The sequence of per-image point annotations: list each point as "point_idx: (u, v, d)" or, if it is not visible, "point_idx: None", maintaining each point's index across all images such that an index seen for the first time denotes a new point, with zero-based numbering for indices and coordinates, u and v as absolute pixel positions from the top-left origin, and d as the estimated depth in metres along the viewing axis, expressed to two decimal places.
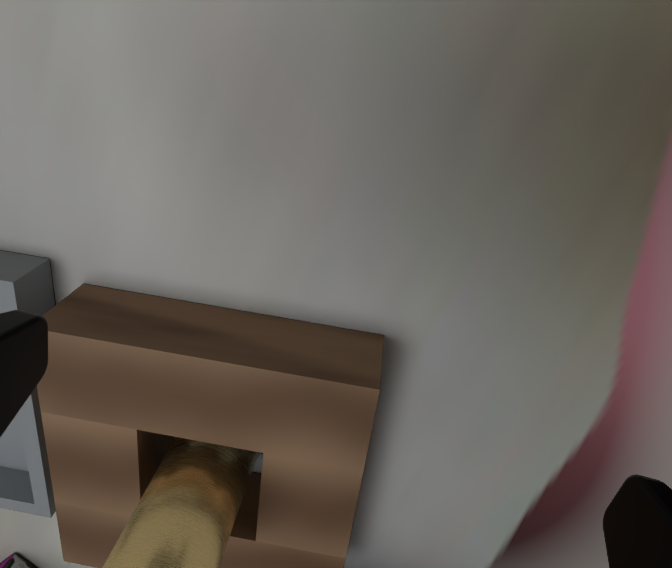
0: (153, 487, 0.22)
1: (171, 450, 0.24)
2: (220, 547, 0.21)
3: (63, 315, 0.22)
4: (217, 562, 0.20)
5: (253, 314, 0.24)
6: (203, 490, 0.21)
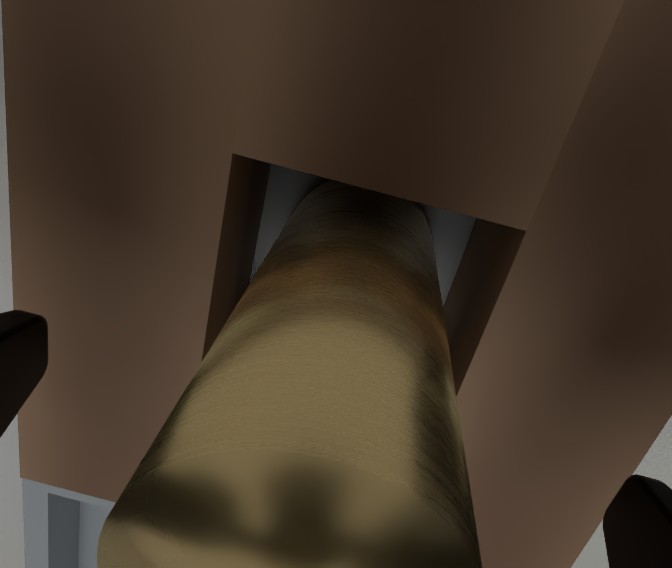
0: None
1: None
2: (317, 297, 0.07)
3: None
4: (331, 316, 0.07)
5: None
6: None
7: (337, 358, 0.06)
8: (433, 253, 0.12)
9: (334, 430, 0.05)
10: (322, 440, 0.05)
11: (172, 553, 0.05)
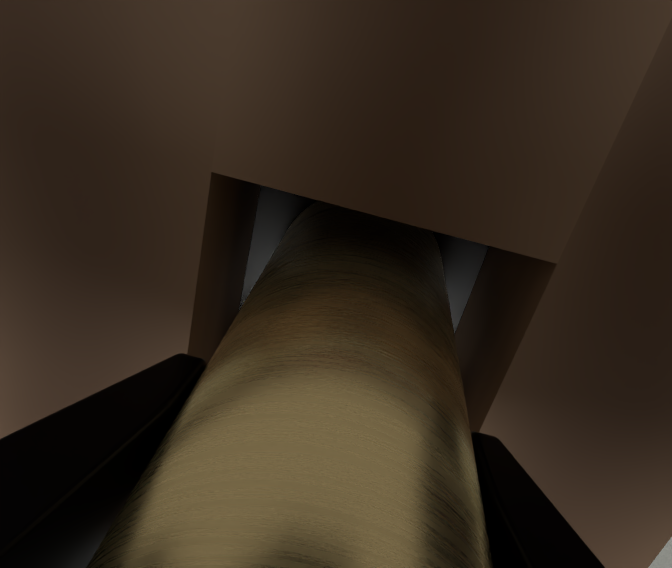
0: None
1: None
2: (306, 360, 0.06)
3: None
4: (323, 388, 0.05)
5: None
6: (216, 350, 0.08)
7: (328, 459, 0.05)
8: (444, 281, 0.11)
9: None
10: None
11: None
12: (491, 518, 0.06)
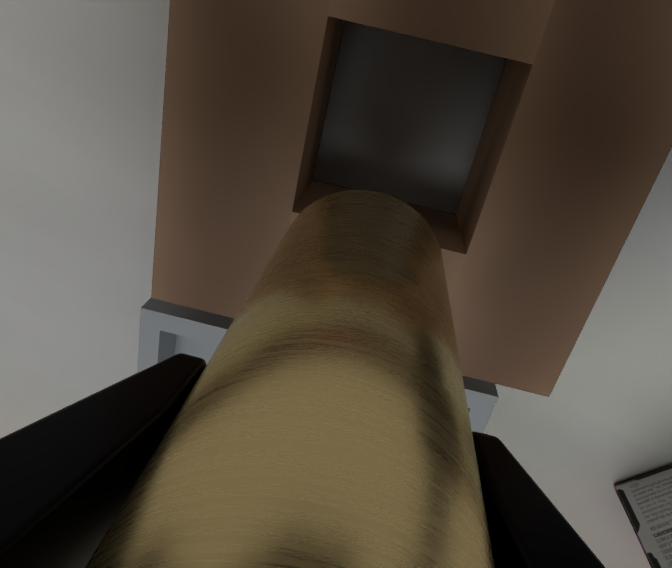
0: None
1: None
2: (307, 358, 0.06)
3: None
4: (323, 386, 0.05)
5: None
6: (216, 348, 0.08)
7: (330, 455, 0.05)
8: (445, 280, 0.11)
9: None
10: None
11: None
12: (491, 518, 0.06)
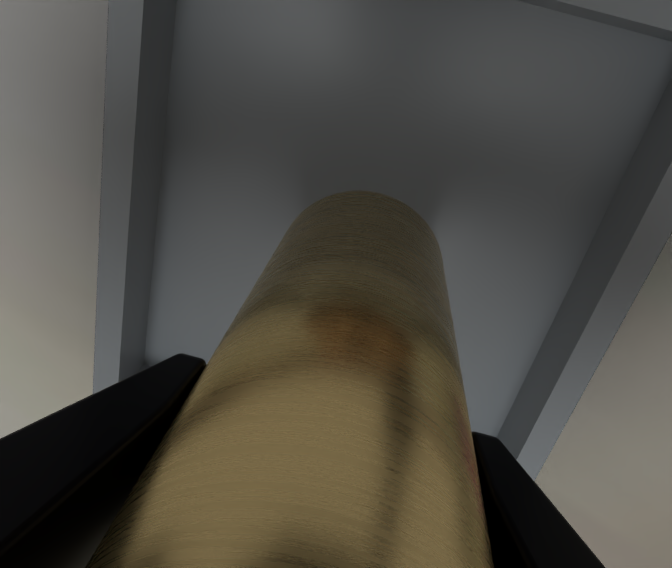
0: None
1: None
2: (306, 360, 0.06)
3: None
4: (323, 389, 0.05)
5: None
6: (215, 350, 0.07)
7: (328, 459, 0.04)
8: (445, 281, 0.11)
9: None
10: None
11: None
12: (491, 518, 0.06)
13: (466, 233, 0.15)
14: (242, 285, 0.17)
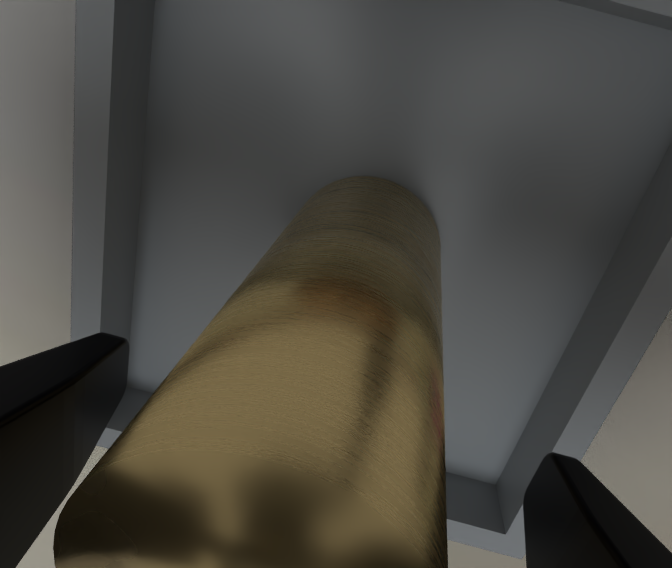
0: None
1: None
2: (298, 296, 0.07)
3: None
4: (309, 315, 0.07)
5: None
6: (228, 299, 0.09)
7: (307, 358, 0.06)
8: (437, 256, 0.12)
9: (289, 432, 0.05)
10: (275, 442, 0.05)
11: (126, 552, 0.05)
12: (589, 544, 0.06)
13: (474, 249, 0.14)
14: None
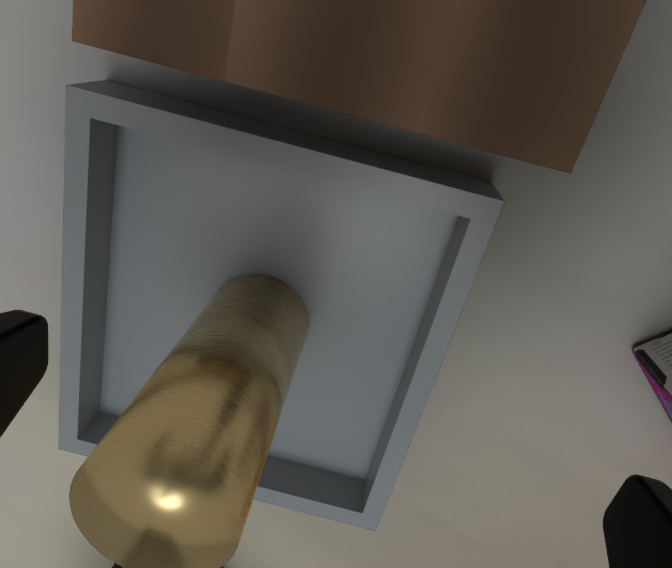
0: None
1: None
2: (188, 371, 0.14)
3: None
4: (191, 382, 0.14)
5: None
6: None
7: (184, 405, 0.13)
8: (296, 328, 0.19)
9: (170, 437, 0.12)
10: (162, 442, 0.11)
11: (102, 494, 0.12)
12: None
13: (330, 320, 0.21)
14: None
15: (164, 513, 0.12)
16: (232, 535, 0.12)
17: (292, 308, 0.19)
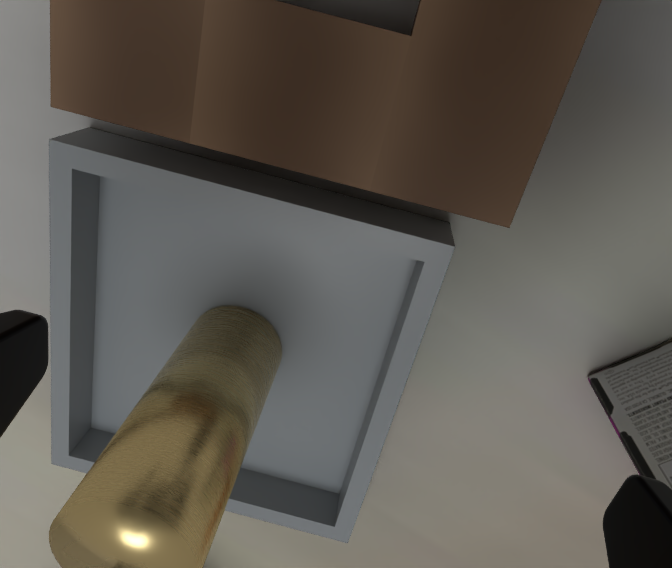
0: None
1: None
2: (155, 419, 0.15)
3: None
4: (157, 431, 0.15)
5: None
6: None
7: (148, 456, 0.14)
8: (266, 360, 0.20)
9: (132, 492, 0.13)
10: (125, 496, 0.13)
11: (77, 538, 0.14)
12: None
13: (302, 348, 0.22)
14: None
15: (131, 554, 0.14)
16: None
17: (263, 340, 0.21)
